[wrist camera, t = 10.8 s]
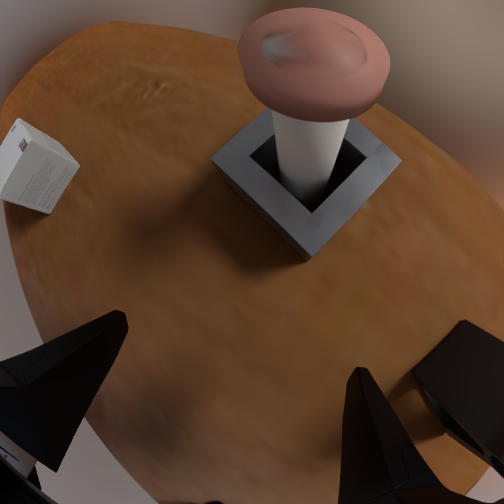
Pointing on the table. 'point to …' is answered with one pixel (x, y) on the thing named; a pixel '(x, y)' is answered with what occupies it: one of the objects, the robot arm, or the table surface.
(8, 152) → the skincare box
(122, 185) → the table surface
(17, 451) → the robot arm
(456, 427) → the phone stand
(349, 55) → the pin
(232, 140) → the block
